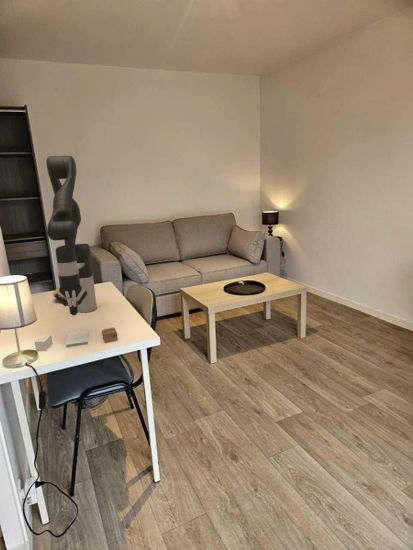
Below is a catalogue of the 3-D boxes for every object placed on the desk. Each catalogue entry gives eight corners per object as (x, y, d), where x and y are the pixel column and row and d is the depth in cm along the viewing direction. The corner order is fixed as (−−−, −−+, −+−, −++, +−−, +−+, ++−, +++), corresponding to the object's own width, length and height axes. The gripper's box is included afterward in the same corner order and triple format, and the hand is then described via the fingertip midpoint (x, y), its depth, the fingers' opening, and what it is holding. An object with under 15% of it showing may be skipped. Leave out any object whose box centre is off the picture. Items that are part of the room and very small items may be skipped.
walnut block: (102, 338, 148) (101, 329, 147) (115, 336, 150) (114, 327, 149) (105, 343, 144) (104, 334, 142) (117, 340, 146) (116, 331, 145)
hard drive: (87, 341, 143) (88, 329, 155) (65, 344, 141) (68, 332, 152) (88, 345, 143) (89, 333, 155) (66, 348, 141) (68, 336, 153)
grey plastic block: (42, 344, 145) (41, 335, 144) (52, 344, 145) (51, 334, 144) (36, 351, 139) (34, 341, 138) (46, 350, 139) (44, 341, 138)
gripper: (87, 269, 146) (92, 310, 150) (52, 272, 143) (58, 313, 147) (85, 273, 138) (90, 316, 143) (48, 276, 136) (55, 320, 140)
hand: (74, 314), depth 145 cm, fingers closed
